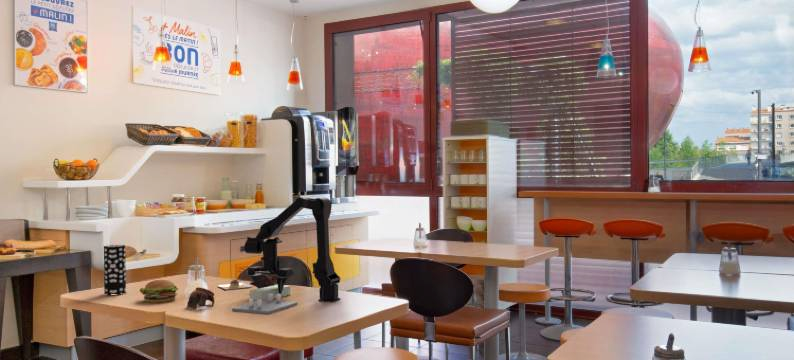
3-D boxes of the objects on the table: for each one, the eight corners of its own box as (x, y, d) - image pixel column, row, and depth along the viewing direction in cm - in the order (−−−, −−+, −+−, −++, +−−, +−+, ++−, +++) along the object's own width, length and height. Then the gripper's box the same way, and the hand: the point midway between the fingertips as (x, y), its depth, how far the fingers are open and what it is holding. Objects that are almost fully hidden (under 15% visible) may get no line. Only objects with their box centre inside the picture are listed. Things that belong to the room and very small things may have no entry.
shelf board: (290, 295, 272) (290, 285, 272) (261, 302, 259) (261, 291, 259) (278, 294, 276) (278, 284, 276) (249, 300, 263) (249, 290, 263)
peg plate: (297, 304, 251) (297, 294, 251) (269, 314, 234) (268, 302, 234) (261, 301, 257) (261, 291, 257) (232, 310, 241) (231, 299, 241)
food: (172, 295, 274) (172, 276, 274) (181, 300, 262) (181, 280, 262) (137, 299, 266) (137, 279, 266) (145, 304, 254) (144, 284, 254)
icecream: (257, 278, 275) (283, 276, 287) (246, 272, 279) (272, 271, 292) (254, 294, 276) (280, 292, 288) (242, 288, 280) (268, 286, 292)
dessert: (252, 289, 291) (252, 278, 291) (225, 291, 284) (225, 280, 284) (243, 285, 301) (242, 274, 301) (216, 288, 294) (216, 277, 294)
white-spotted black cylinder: (130, 293, 280) (129, 245, 280) (112, 296, 273) (111, 247, 273) (117, 291, 285) (117, 244, 285) (100, 294, 278) (99, 246, 278)
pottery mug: (182, 307, 250) (190, 287, 254) (205, 316, 254) (214, 296, 257) (190, 304, 240) (198, 283, 244) (214, 314, 244) (222, 292, 247)
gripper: (300, 252, 271) (301, 291, 271) (262, 251, 279) (263, 288, 279) (285, 256, 261) (285, 296, 261) (246, 254, 268) (246, 293, 269)
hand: (270, 293), depth 268 cm, fingers open, 9 cm apart
